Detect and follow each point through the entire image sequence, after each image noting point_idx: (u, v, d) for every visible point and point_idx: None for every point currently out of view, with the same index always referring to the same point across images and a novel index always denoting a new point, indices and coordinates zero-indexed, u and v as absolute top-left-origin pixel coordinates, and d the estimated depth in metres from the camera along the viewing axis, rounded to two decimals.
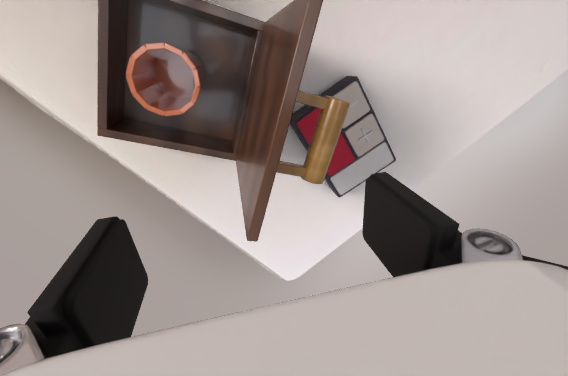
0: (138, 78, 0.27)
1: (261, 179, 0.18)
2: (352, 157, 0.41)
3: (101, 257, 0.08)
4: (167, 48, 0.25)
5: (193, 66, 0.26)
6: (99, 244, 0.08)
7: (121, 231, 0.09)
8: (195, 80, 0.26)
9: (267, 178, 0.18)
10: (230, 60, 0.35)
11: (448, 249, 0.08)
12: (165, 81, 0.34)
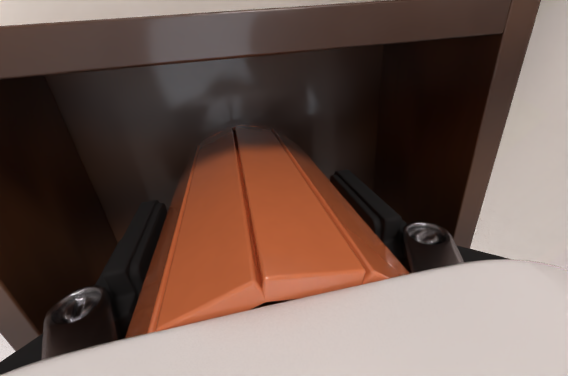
0: None
1: None
2: None
3: (152, 233, 0.08)
4: None
5: None
6: (148, 222, 0.09)
7: (163, 213, 0.10)
8: None
9: None
10: None
11: (393, 240, 0.08)
12: None
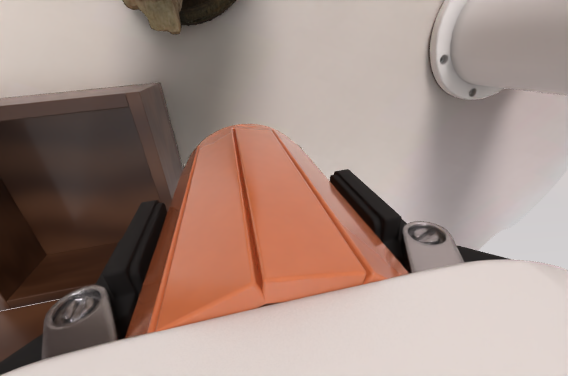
0: None
1: None
2: None
3: (152, 233, 0.08)
4: None
5: None
6: (148, 222, 0.09)
7: (163, 213, 0.10)
8: None
9: None
10: None
11: (393, 241, 0.08)
12: None
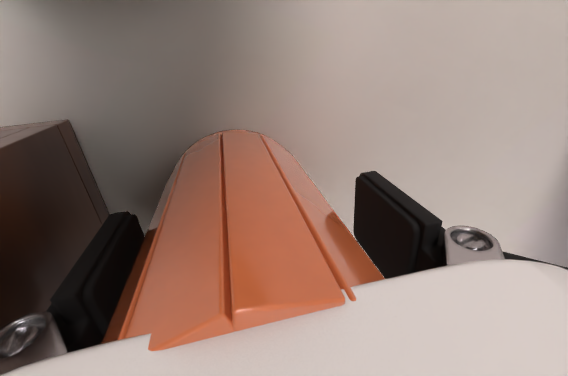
0: None
1: None
2: None
3: (115, 249, 0.08)
4: None
5: None
6: (113, 237, 0.08)
7: (133, 225, 0.09)
8: None
9: None
10: None
11: (432, 246, 0.08)
12: None
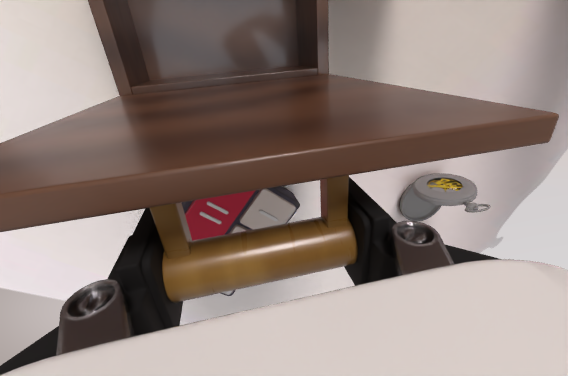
0: None
1: (100, 175, 0.06)
2: None
3: None
4: None
5: None
6: None
7: None
8: None
9: (114, 193, 0.05)
10: (259, 45, 0.25)
11: (383, 240, 0.08)
12: None
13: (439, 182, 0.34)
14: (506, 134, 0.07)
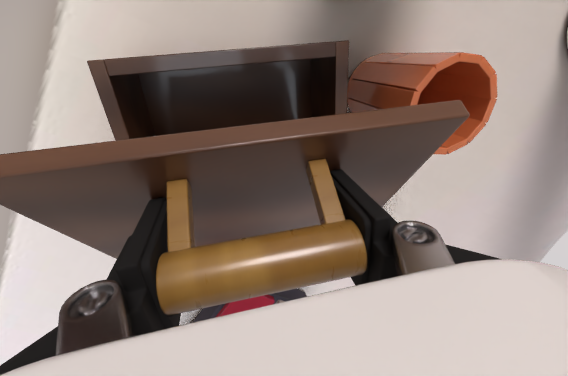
0: None
1: None
2: None
3: (161, 229, 0.09)
4: (491, 103, 0.18)
5: (470, 139, 0.19)
6: (157, 219, 0.09)
7: None
8: (455, 146, 0.19)
9: (150, 143, 0.08)
10: None
11: (383, 240, 0.08)
12: None
13: None
14: (426, 110, 0.10)
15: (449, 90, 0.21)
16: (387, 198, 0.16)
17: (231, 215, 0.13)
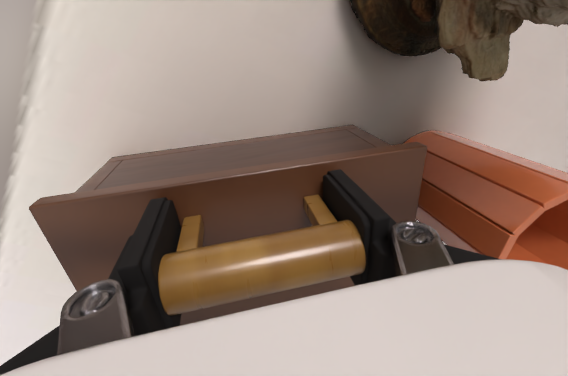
0: None
1: None
2: None
3: (162, 229, 0.09)
4: None
5: None
6: (158, 219, 0.09)
7: (171, 210, 0.10)
8: None
9: (176, 179, 0.11)
10: None
11: (383, 240, 0.08)
12: None
13: None
14: (390, 147, 0.12)
15: None
16: None
17: None
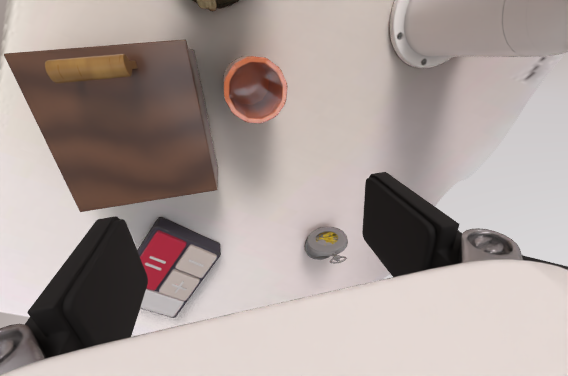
0: None
1: None
2: (155, 288, 0.43)
3: (100, 257, 0.08)
4: (283, 88, 0.28)
5: (277, 112, 0.29)
6: (99, 244, 0.08)
7: (121, 231, 0.09)
8: (266, 117, 0.29)
9: (67, 49, 0.26)
10: None
11: (448, 249, 0.08)
12: (238, 72, 0.35)
13: (325, 235, 0.47)
14: None
15: (275, 81, 0.31)
16: (198, 110, 0.30)
17: (107, 108, 0.28)
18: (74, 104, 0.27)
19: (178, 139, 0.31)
